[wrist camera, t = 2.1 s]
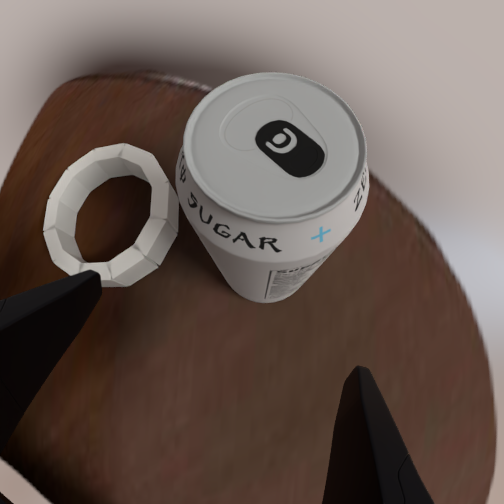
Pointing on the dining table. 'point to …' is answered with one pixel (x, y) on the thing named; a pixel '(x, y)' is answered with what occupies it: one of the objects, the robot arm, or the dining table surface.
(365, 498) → the robot arm
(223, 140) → the energy drink can
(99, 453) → the dining table surface
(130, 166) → the socket collar
